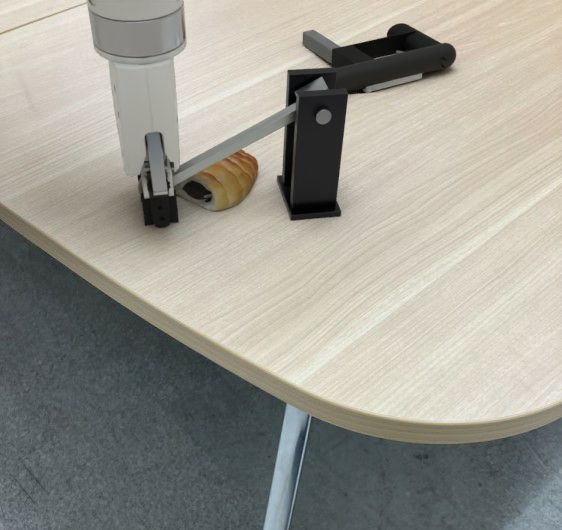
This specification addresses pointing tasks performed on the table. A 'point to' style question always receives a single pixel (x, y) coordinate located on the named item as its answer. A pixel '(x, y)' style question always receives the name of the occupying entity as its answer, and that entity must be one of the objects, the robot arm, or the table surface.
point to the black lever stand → (313, 146)
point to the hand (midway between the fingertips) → (159, 214)
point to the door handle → (382, 58)
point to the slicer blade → (239, 139)
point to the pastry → (221, 182)
